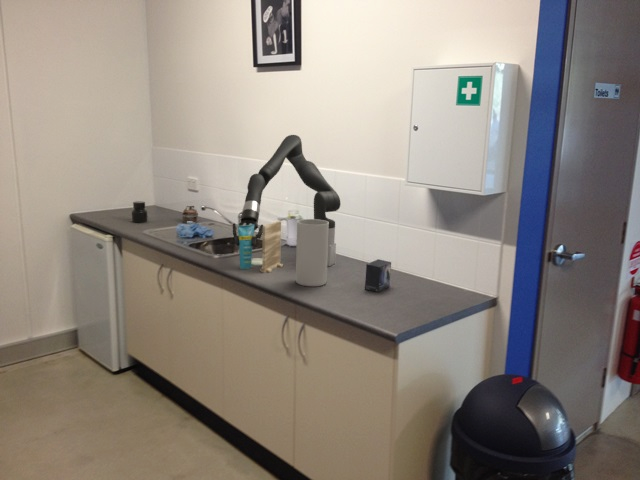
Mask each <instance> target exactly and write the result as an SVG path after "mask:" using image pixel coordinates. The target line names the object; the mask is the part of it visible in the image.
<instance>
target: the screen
mask: <svg viewBox="0 0 640 480" xmlns="http://www.w3.org/2000/svg"><path fill="white" fill-rule="evenodd" d="M281 242H282V221H279V220H278V221H276V222H272V223H269V224H266V225H263V233H262V246H261V247H262V251H261V253H262V257H261V258H262V266H261V267H260V268H259V272H262V273H264V274H265V273H269V274H270V273H272V272H273V271H272V270H273V269H276V268H283V267H284V264H283V263H281V254H282V253H281V251H282V249H281V246H282V245H281V244H282V243H281Z"/></svg>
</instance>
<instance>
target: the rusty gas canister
mask: <svg viewBox="0 0 640 480" xmlns="http://www.w3.org/2000/svg"><path fill="white" fill-rule="evenodd" d="M198 216H199V213H198V211H197V209H196V207H195V206H194V205H187V206H186V205H185V208H184V209H183V211H182V214H181V218H182V221H183V223H184V224H187V223H186V222H187V221H193V222H196V223H197V222H198Z"/></svg>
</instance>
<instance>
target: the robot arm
mask: <svg viewBox="0 0 640 480" xmlns="http://www.w3.org/2000/svg"><path fill="white" fill-rule="evenodd" d="M286 159H287V160H288V162H289V163H290V164H291V165H292V166H293V167H294V170H295V171H296V173H297V174H298V176H299V178H300V180H301V181H302V183H303V184H304V185H306V186H307V187H308V188H310V189H311V190H313V191H315V192H316V193H315V194H314V196H313V219H318V220H325V221H328V222H329V228H328V255H327V267H331V266H333V265H335V264H336V253H337V252H336V251H337V243H335V240H336V239H335V238H336V237H335V234H336V230H335V229H336V221H335V220H334V219H330V218H328V217H327V216H326V215H327V213H333V212H337V211H338V210H339V209H340V207H341V199H340V196H339V194H338V193H337V191H336V190H335V189H334V187H332V186H331V185H330V184H329V182H328V181H327V180H326V179H325V177H324V176H323V174H322V173H321V171H320V170H319V168H318V167H317V165H316V164H315V163H314V162H313V161H310V160H307V159H306V158H305V155H304V153H303V143H302V138H301V137H300V136H298V135H296V134H289V135H288V136H286V137H285V138H284V139H283V140H282V141H281V143H280V144H279V146H278V147H277V149H276V150H275V152H274V153H273V155H272V156H271V157H270V159H269V160H268V161H267V162H265V164H263V166H262V167H260V169H259V171H258V173H254V174H252V175H251V176H250V178H249V180H248V184H247V193H246V196H245V200H244V205H243V208H242V211H241V218H240V221H239V223H235V222H234V223H232V236H233V238H236V239H235V245H236V246H237V247H239V233H238V232H237V230H238V226H245V225H254V233H253V237H252V242H251V246H252V248H253V247H254V246H255V245H256V241H257V239H262V237H263V226H264V224H258V222H259V218H260V212H261V203H262V195H263V192H264V190H265V188H266V187H267V186H268V184H269V182H271V180H272V179H273V178H274V177H275V176H276V175H277V174H278V173H279V171H280V170H281V168H282V166H283V164H284V162H285V160H286ZM257 229H258V232H257V234H256V230H257Z"/></svg>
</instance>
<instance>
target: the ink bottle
mask: <svg viewBox="0 0 640 480" xmlns="http://www.w3.org/2000/svg"><path fill="white" fill-rule="evenodd" d="M132 205H133V210H132V211H131V222H132V223H134V222H135V223H136V224H142V223H143V224H144V223H147V222H148V211H147V209H146V202H145V201H141V200H140V201H139V200H138V201H137V200H136V201H133V202H132ZM135 223H134V224H135Z"/></svg>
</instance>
